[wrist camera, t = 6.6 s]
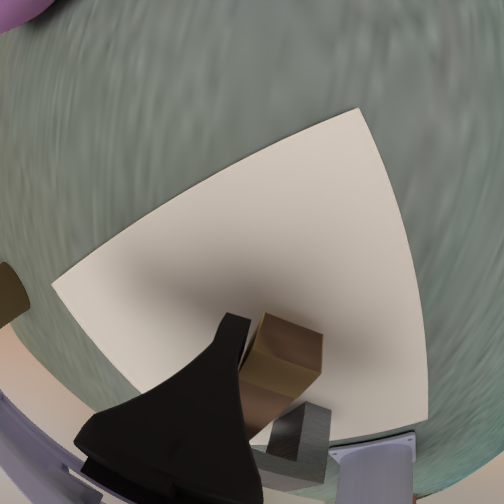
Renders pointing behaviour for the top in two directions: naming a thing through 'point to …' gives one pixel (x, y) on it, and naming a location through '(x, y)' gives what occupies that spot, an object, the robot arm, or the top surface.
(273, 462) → the keeper
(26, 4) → the teapot
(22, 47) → the top surface
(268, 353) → the link
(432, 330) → the top surface
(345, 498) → the robot arm
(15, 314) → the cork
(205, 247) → the board
